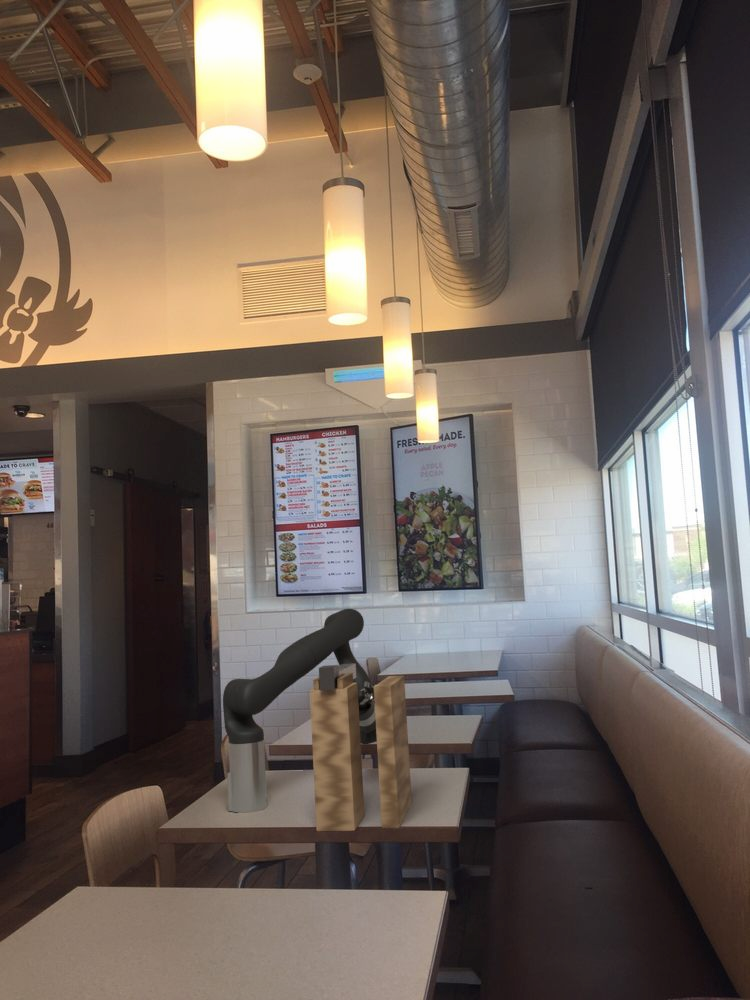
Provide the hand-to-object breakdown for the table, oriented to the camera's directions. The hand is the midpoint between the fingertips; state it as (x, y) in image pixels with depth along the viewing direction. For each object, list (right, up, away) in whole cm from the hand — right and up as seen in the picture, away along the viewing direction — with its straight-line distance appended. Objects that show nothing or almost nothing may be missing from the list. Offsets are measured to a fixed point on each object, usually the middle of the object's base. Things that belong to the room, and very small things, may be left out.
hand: (349, 684), depth 218 cm
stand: (+5, -28, -16) cm, 33 cm away
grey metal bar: (-2, +3, -12) cm, 12 cm away
